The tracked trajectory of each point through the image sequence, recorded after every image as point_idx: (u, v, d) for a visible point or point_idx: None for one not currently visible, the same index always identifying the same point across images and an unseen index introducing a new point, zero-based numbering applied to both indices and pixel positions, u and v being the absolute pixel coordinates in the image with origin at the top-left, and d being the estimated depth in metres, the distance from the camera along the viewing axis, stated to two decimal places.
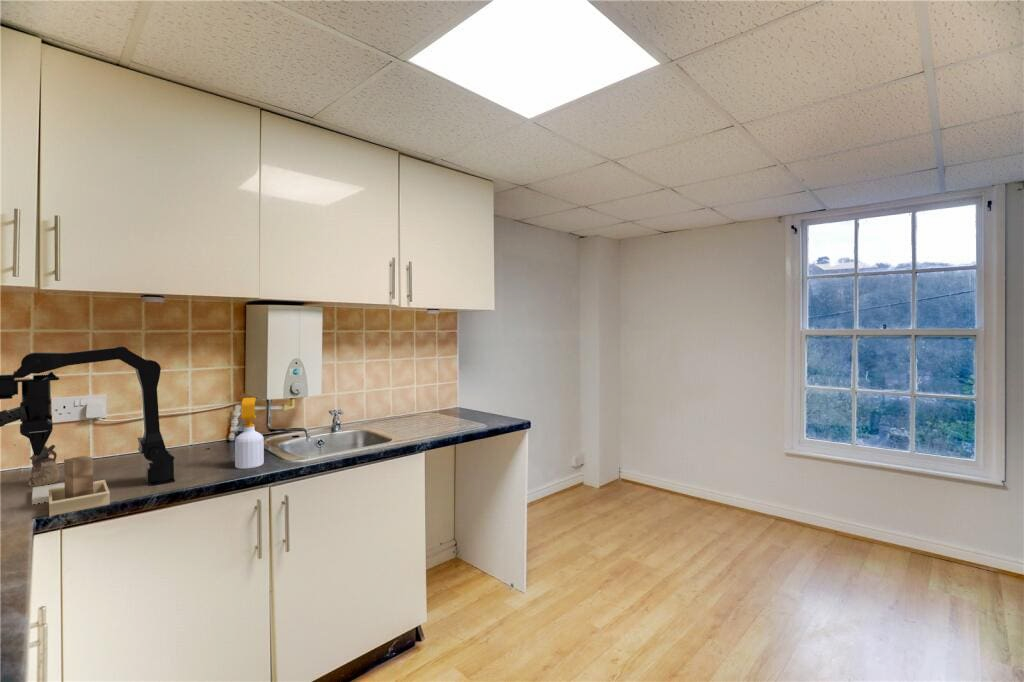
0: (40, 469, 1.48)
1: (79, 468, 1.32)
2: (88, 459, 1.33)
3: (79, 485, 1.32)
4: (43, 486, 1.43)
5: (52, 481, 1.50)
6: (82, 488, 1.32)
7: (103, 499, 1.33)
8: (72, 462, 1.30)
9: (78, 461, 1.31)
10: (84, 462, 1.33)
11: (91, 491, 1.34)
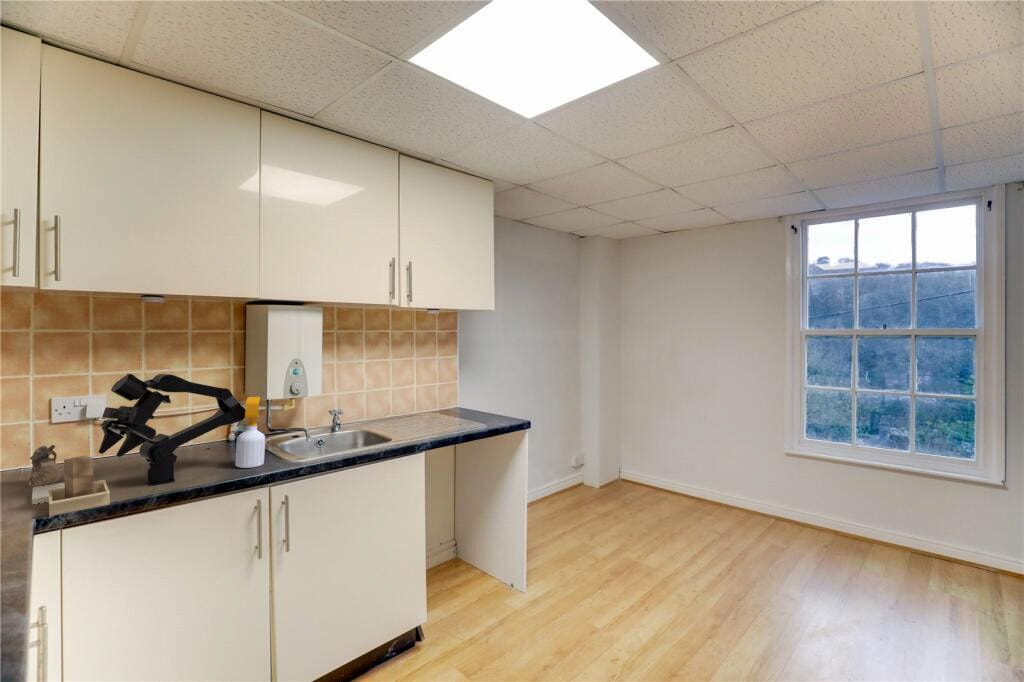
0: (40, 469, 1.48)
1: (79, 468, 1.32)
2: (88, 459, 1.33)
3: (79, 485, 1.32)
4: (43, 486, 1.43)
5: (52, 481, 1.50)
6: (82, 488, 1.32)
7: (103, 499, 1.33)
8: (72, 462, 1.30)
9: (78, 461, 1.31)
10: (84, 462, 1.33)
11: (91, 491, 1.34)
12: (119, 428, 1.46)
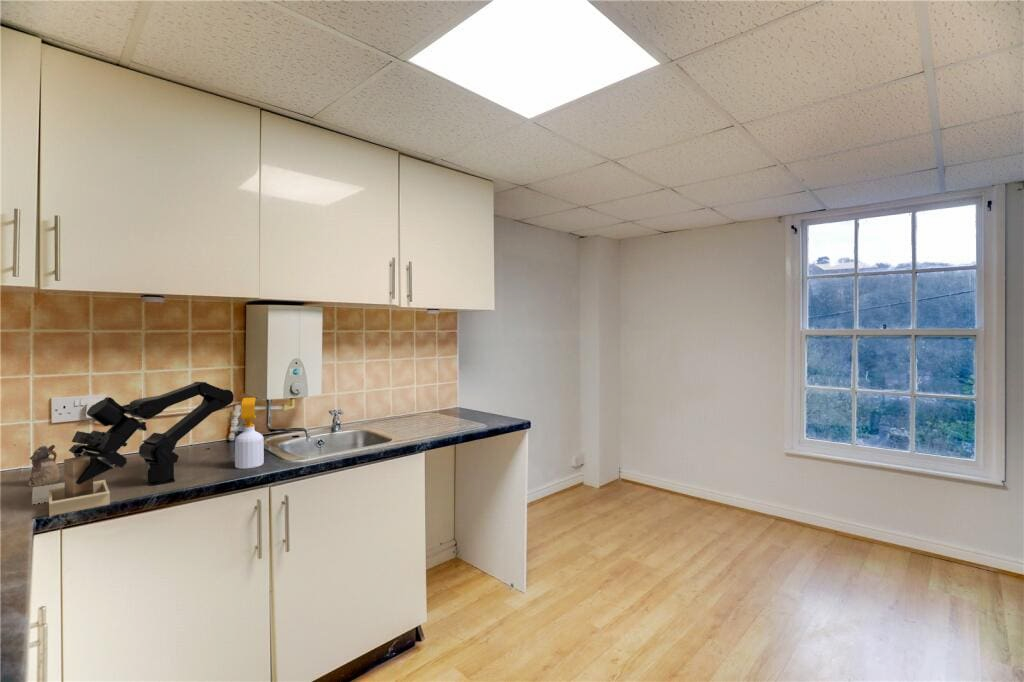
0: (40, 469, 1.48)
1: (79, 468, 1.32)
2: (88, 459, 1.33)
3: (79, 485, 1.32)
4: (43, 486, 1.43)
5: (52, 481, 1.50)
6: (82, 488, 1.32)
7: (103, 499, 1.33)
8: (72, 462, 1.30)
9: (78, 461, 1.31)
10: (84, 462, 1.33)
11: (91, 491, 1.34)
12: None
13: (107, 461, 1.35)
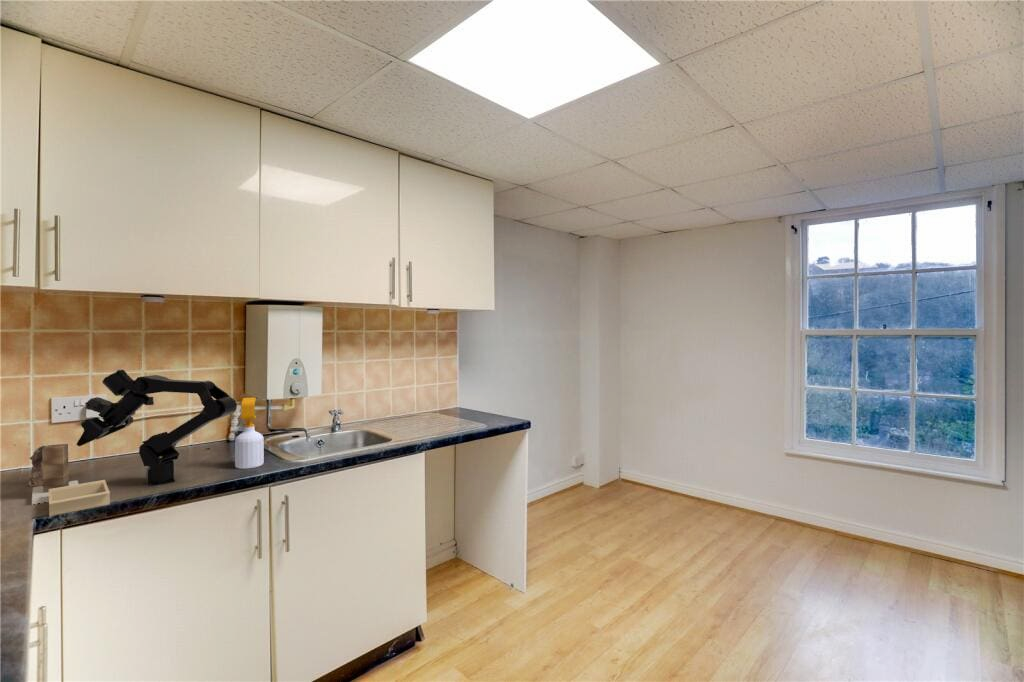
0: (40, 469, 1.48)
1: (49, 456, 1.38)
2: (58, 448, 1.39)
3: (48, 472, 1.38)
4: None
5: None
6: (52, 475, 1.39)
7: (103, 499, 1.33)
8: None
9: (47, 449, 1.38)
10: (54, 450, 1.39)
11: (61, 479, 1.40)
12: None
13: None
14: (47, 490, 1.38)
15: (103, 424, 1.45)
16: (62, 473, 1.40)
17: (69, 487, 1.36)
